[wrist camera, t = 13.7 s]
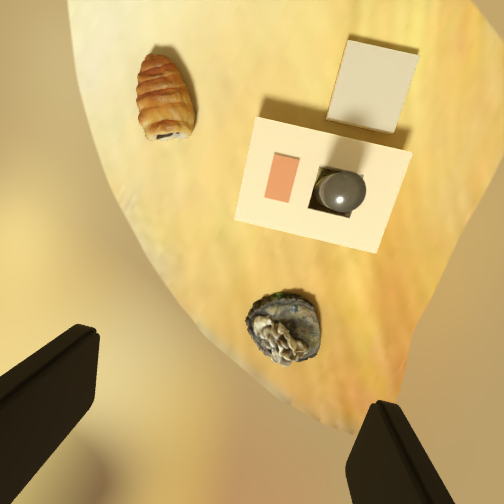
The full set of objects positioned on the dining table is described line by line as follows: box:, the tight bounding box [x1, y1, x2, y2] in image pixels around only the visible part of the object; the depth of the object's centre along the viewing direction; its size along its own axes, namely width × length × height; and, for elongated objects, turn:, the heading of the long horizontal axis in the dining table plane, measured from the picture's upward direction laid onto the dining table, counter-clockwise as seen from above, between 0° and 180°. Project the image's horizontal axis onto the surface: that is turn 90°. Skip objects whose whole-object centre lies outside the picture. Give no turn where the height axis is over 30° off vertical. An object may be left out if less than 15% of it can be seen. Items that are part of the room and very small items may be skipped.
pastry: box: [136, 54, 195, 141], centre depth 31 cm, size 9×7×4 cm
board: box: [234, 117, 413, 254], centre depth 32 cm, size 12×18×3 cm, turn 77°
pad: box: [325, 40, 420, 134], centre depth 30 cm, size 8×8×1 cm
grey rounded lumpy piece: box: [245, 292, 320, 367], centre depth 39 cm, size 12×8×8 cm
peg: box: [314, 171, 366, 212], centre depth 30 cm, size 4×4×8 cm
